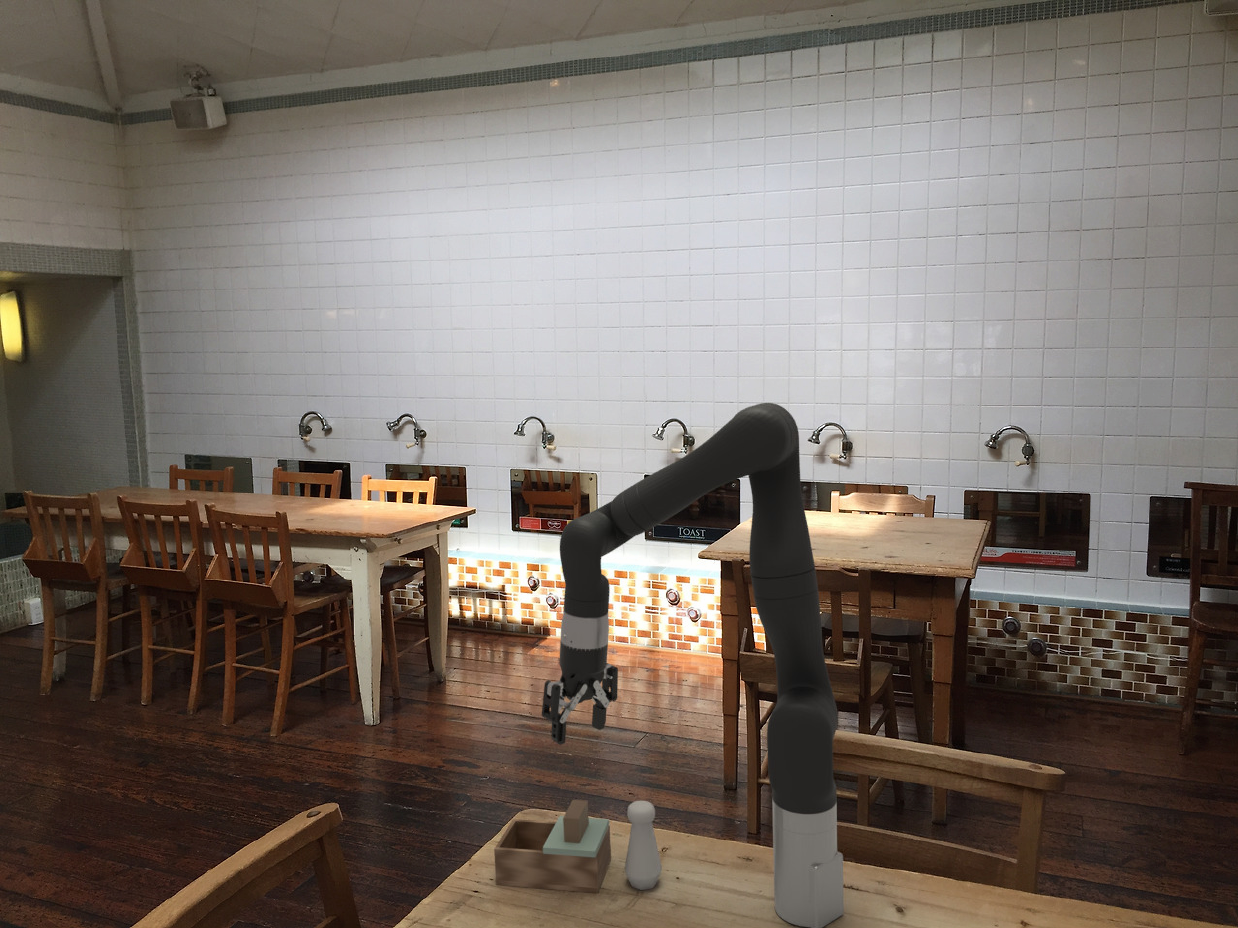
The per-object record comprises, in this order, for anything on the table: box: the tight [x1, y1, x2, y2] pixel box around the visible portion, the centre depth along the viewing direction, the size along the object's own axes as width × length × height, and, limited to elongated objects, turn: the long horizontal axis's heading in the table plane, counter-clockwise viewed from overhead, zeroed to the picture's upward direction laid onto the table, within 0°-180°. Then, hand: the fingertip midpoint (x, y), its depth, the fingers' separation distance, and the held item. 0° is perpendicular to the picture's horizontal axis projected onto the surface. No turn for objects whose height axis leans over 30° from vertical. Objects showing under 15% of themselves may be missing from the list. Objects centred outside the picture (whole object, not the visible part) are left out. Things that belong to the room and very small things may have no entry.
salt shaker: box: [624, 800, 663, 891], centre depth 147 cm, size 6×6×13 cm
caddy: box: [493, 818, 612, 894], centre depth 151 cm, size 17×10×6 cm, turn 78°
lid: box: [543, 799, 610, 857], centre depth 150 cm, size 8×10×5 cm
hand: (578, 734), depth 150 cm, fingers open, 8 cm apart
